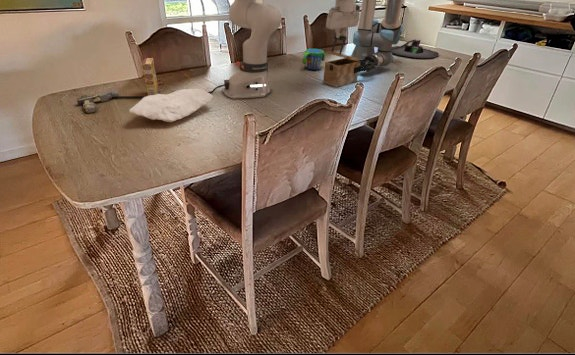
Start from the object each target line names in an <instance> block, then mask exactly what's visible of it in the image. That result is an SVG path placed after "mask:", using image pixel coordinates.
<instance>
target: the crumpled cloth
mask: <svg viewBox="0 0 575 355" xmlns="http://www.w3.org/2000/svg"><path fill="white" fill-rule="evenodd" d="M208 92H209V91H206V90H203V89H201V88H187V89H186V88H185V89H184V88H183V89H177V90H175V91H173V92H171V93H167V94H163V93H158V94H156V95H150V96H148V95H145V96H146V97H144V98H140V100H139V101H138V102H137V103H136V104H134V105H133V106H132V107H131V108H129V114H130V115H135V116H140V117H145V118H146V119H149V120H152V121H155V120H158V121H163V122H166V123H174V122H176V121H178V120H181V119H183V118H185V117H188V116H190V115H192V114H193V113H195V112H196V111H197V110H199V109H200V108H202V107H204V106H206V105H207V104H210V102H211V101H212V100H213V99H214V98H213V97H214V96H213V94H212V93H208Z"/></svg>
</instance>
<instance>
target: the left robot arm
mask: <svg viewBox="0 0 575 355" xmlns="http://www.w3.org/2000/svg"><path fill="white" fill-rule="evenodd" d="M334 3H335V4H334V7H331V8H330V9H329V10H328V13H327V17H326V22H325V27H326V29H328V30H334V31H335V35H336V38H340V37H341V36H345V37H347V36H346V35H347V33H348V30H349V28H354V27H358V25H359V21H360V12H361V7H362V5H360V4H358V3H356V0H335V2H334ZM228 17H229V21H230V22H231V23H232V24H233V25H235V26H237V27H240V28H242V29H247V30H251V31H250V32H251V34H250V37H249V38H247V39H246V40H245V41H244V42H243V43H242V59H243V60H242V61H236V62H235V65H236V66H237V67H239V69H237V71H236V72H235V73H234V74H232V75H231V76H230V77H229V78H228V79H223V84H220V85H218V86H216V87H214V88H213V89H212V90H211V91H207V92H208V93H210V94H212V93H214V92H215V91H216V90H217V89H219V88H222V87H224V88H223V91H222V92H223V94H224V95H225V96H226V97H228V98H230V99H233V100H236V99H237V100H238V99H239V100H240V99H253V98H254V99H255V98H264V97H266V95H268V94H269V93H270V92H271V88H270V84H269V78H268V76H269V75H268V72H269V61H268V47H269V41H270V39H271V37H272V35H273V34H274V33H275V32H276V31H277V30H278V29H279V27H280V26H281V24H282V14H281V12H280V9H279V8H278V7H275V6H273V5H270V4H268V3H262V2H257V0H233V2H232V3H231V5H230V7H229V9H228ZM341 29H342V32H341V33H340V31H341ZM146 96H147V95H141V96H140V95H139V96H138V95H130V96H129V95H128V96H127V95H126V96H125V95H123V96H121V95H119V96H117V97H112V98H111V99H142V98H144V97H146Z"/></svg>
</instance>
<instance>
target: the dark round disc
mask: <svg viewBox="0 0 575 355" xmlns="http://www.w3.org/2000/svg"><path fill="white" fill-rule="evenodd" d="M412 40H413V42H411V43H410V44H407V45H405V46H403V47H401V48H398V49H394V48H397V47H400V46H401V45H400V46H399V45H396V46H395V45H394V46H392V48H391V49H393V50H391V53H392V54H394V55H398V56H403V57H407V58H415V59H416V58H417V59H430V58H431V59H432V58H437V57H439V52H438V51H435V50H434V51H433V50H431V49H427V48H424V47H423V46H421V45H420V44H421V39H415V38H414V39H412Z"/></svg>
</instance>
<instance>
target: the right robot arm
mask: <svg viewBox="0 0 575 355" xmlns="http://www.w3.org/2000/svg"><path fill="white" fill-rule="evenodd" d="M376 6H377V0H362V1H361V8H360V13H359V22H358V25H357V29H356V30H355V31H354V33H353V37H352V44H353V45H354V48H353V50H352V53H351V57H354V58H358V59H360V61H359V67H356V68H354V73H361V72H366V73H369V72H371V71H373V70H375V69H377V68H382V67H385V66H387V65H390V64H391V63H392V62H393V60H394V56H393V54H394V53H391V50H393V49H391V48H392V47H393V45H394V46H395V45H397V44H398V43H399V42H400V39H401V36H402V33H403V29H404V24H402V21H401V19H400V17H401V13H402V6H403V0H386V5H385V12H384V17H383V19H381V22H379V20H378V19H374V18H375V17H374V16H375V13H376ZM413 40H414V39H412V40H409V41H406V43H404V44H402V45H400V47H397V48H394V49H398V48H401V47H405V45H409V44H411V43H412V42H413ZM375 48H377V52H375V51H376V50H375Z"/></svg>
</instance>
